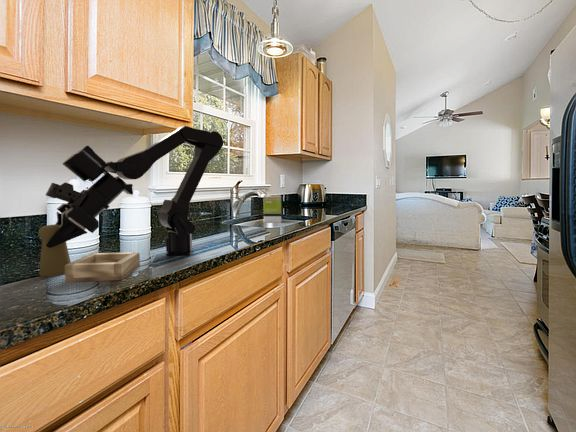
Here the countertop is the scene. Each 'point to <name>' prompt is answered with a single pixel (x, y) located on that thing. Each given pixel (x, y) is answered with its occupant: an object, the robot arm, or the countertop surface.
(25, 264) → the countertop surface
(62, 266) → the brown toast slice
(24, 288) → the countertop surface
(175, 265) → the countertop surface
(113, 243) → the countertop surface
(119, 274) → the wooden tray
